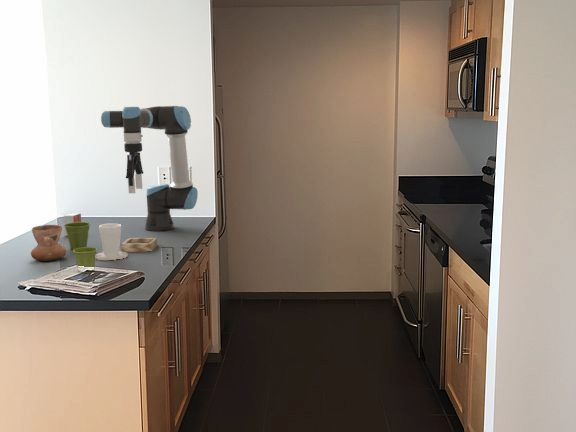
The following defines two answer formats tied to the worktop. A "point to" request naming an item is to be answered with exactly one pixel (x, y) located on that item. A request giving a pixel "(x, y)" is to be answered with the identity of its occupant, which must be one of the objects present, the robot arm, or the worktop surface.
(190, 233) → the worktop surface
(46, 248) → the ceramic jug
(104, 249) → the foam cup
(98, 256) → the disc
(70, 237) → the plant pot
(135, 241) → the holder
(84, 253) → the plant pot
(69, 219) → the small box
